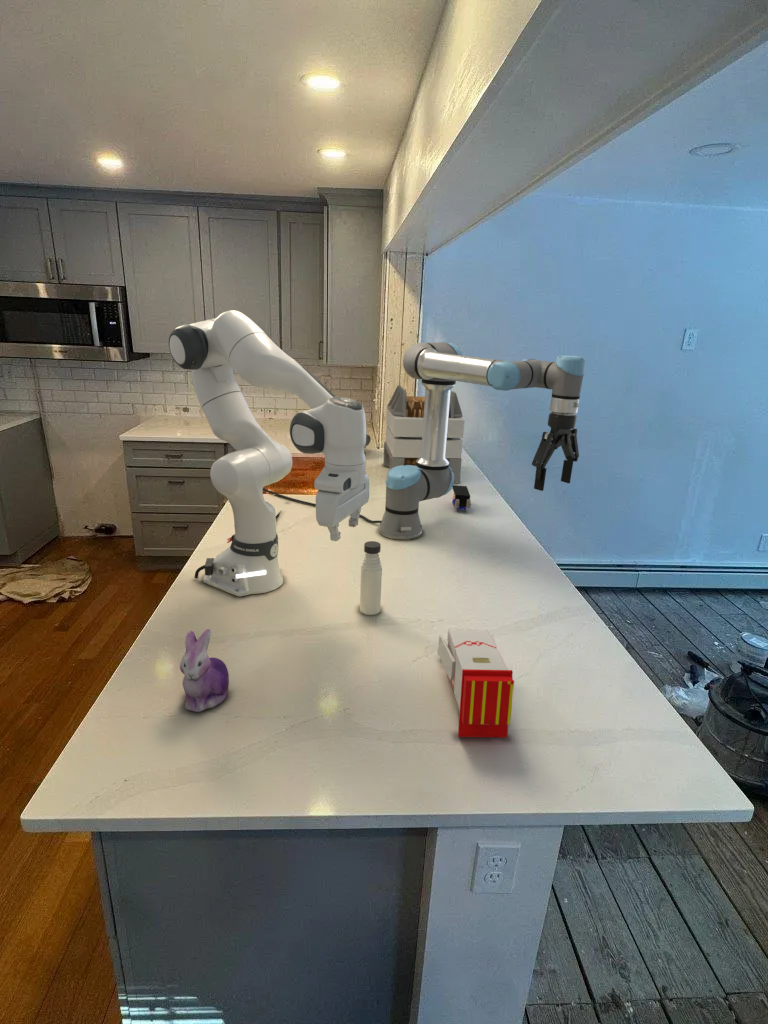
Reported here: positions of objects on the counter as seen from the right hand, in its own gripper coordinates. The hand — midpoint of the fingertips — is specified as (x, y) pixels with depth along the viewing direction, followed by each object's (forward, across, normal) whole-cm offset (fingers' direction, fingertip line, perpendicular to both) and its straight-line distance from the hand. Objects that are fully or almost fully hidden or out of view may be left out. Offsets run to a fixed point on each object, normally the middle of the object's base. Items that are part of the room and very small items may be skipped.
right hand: (552, 485), depth 166 cm
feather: (+28, -39, +88) cm, 101 cm away
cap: (+10, -57, +13) cm, 59 cm away
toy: (+28, -62, -26) cm, 72 cm away
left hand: (+1, -70, +8) cm, 70 cm away
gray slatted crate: (+28, +46, +101) cm, 115 cm away
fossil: (+28, +45, +147) cm, 156 cm away
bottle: (+28, -57, +13) cm, 65 cm away
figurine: (+28, -105, +5) cm, 109 cm away
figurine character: (+28, +25, +55) cm, 67 cm away
